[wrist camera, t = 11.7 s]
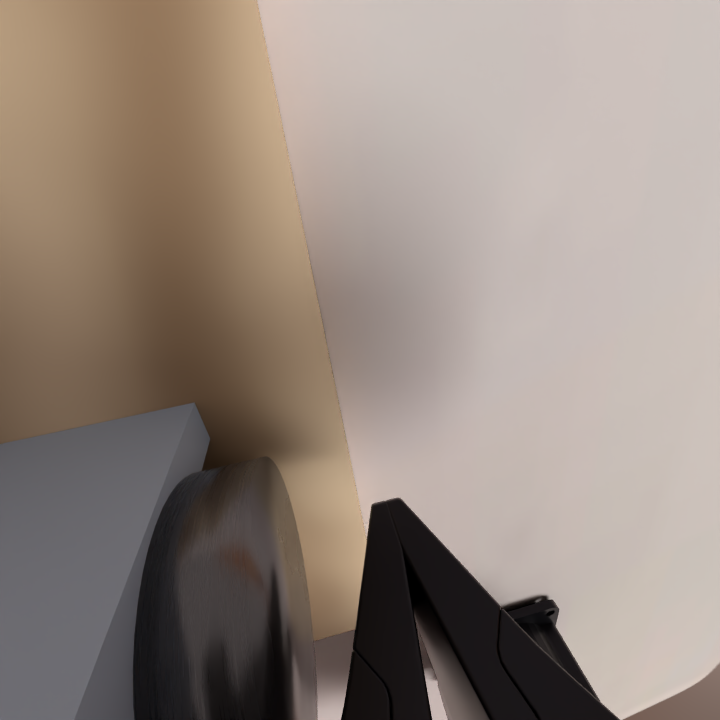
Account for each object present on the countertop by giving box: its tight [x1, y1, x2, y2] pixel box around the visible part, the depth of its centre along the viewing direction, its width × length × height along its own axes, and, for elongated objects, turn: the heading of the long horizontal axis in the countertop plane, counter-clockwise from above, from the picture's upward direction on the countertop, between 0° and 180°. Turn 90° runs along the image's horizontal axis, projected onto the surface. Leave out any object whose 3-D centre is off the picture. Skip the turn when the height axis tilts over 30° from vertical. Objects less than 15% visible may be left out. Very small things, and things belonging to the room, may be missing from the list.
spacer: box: [0, 403, 210, 720], centre depth 7 cm, size 7×6×7 cm
